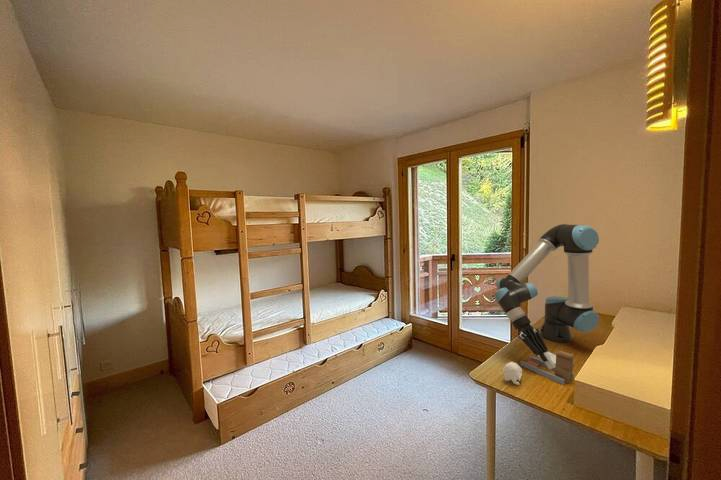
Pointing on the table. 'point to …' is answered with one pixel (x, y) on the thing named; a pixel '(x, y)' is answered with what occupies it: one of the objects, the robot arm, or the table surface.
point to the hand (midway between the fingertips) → (552, 368)
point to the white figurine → (512, 372)
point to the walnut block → (564, 366)
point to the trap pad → (533, 363)
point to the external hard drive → (552, 356)
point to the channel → (543, 372)
